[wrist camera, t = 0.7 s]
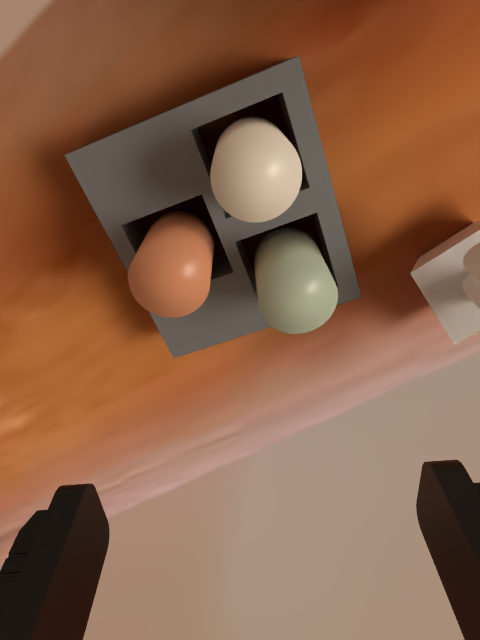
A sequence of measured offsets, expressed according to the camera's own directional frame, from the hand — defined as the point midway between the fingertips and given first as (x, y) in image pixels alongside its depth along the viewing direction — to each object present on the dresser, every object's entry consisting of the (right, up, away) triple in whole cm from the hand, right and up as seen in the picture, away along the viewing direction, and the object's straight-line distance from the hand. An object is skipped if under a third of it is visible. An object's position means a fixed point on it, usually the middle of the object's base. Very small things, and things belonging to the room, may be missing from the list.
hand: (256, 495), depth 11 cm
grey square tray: (-1, +12, +20) cm, 23 cm away
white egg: (0, +14, +15) cm, 21 cm away
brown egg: (-4, +9, +18) cm, 21 cm away
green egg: (+3, +8, +19) cm, 21 cm away
